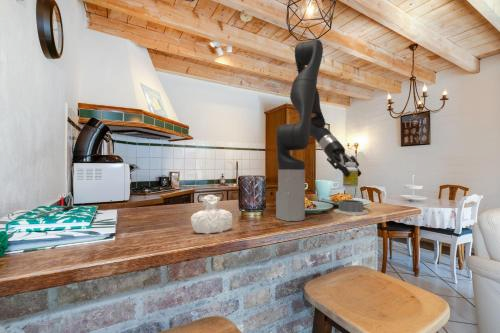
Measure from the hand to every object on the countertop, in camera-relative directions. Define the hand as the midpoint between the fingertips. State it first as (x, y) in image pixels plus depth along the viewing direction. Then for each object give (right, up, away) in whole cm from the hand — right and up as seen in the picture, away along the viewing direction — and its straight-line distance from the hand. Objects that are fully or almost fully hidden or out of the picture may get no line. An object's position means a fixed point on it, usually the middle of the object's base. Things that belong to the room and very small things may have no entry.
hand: (354, 175), depth 93 cm
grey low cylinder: (-1, -15, +1) cm, 15 cm away
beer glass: (-1, -5, +2) cm, 5 cm away
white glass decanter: (-52, -15, -25) cm, 60 cm away
